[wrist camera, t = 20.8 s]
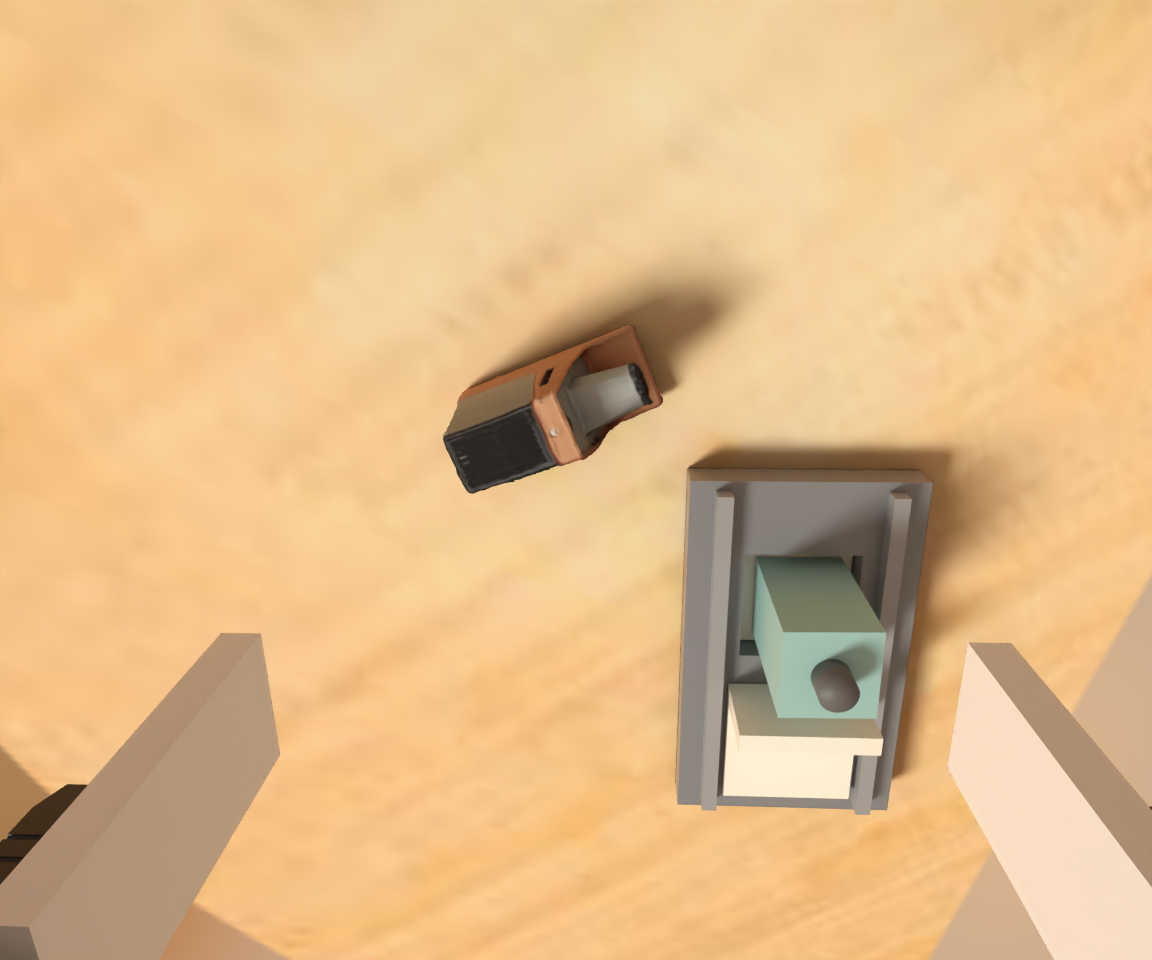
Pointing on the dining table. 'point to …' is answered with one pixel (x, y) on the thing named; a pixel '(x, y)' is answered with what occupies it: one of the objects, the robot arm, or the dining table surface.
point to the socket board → (726, 601)
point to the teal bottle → (817, 638)
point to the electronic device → (549, 410)
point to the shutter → (789, 749)
